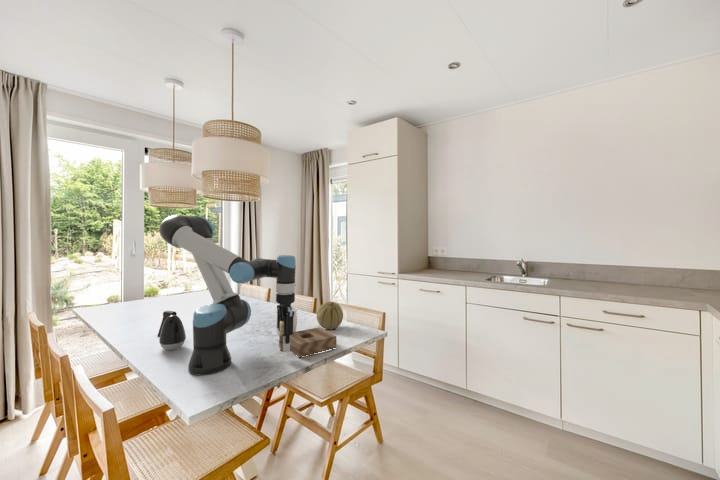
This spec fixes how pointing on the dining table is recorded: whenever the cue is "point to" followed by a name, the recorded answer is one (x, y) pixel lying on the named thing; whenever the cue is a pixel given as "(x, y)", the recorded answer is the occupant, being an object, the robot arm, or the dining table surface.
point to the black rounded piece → (165, 315)
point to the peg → (281, 336)
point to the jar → (293, 321)
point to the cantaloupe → (329, 315)
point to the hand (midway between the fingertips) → (284, 348)
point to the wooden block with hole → (311, 341)
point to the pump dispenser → (172, 333)
